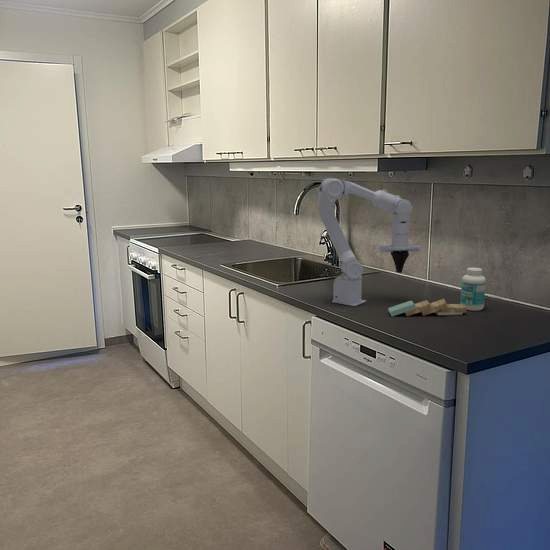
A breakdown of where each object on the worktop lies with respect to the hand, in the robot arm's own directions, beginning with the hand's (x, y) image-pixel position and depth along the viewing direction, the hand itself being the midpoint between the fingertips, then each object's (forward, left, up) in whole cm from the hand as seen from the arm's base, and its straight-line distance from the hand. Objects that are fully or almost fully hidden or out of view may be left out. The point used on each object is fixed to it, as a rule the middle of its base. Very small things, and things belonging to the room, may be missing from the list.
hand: (398, 272), depth 186 cm
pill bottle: (+24, +6, -11) cm, 27 cm away
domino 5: (+17, -7, -10) cm, 21 cm away
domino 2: (+10, -14, -10) cm, 20 cm away
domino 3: (+14, -11, -10) cm, 20 cm away
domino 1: (+6, -17, -10) cm, 21 cm away
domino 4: (+18, -6, -9) cm, 21 cm away
